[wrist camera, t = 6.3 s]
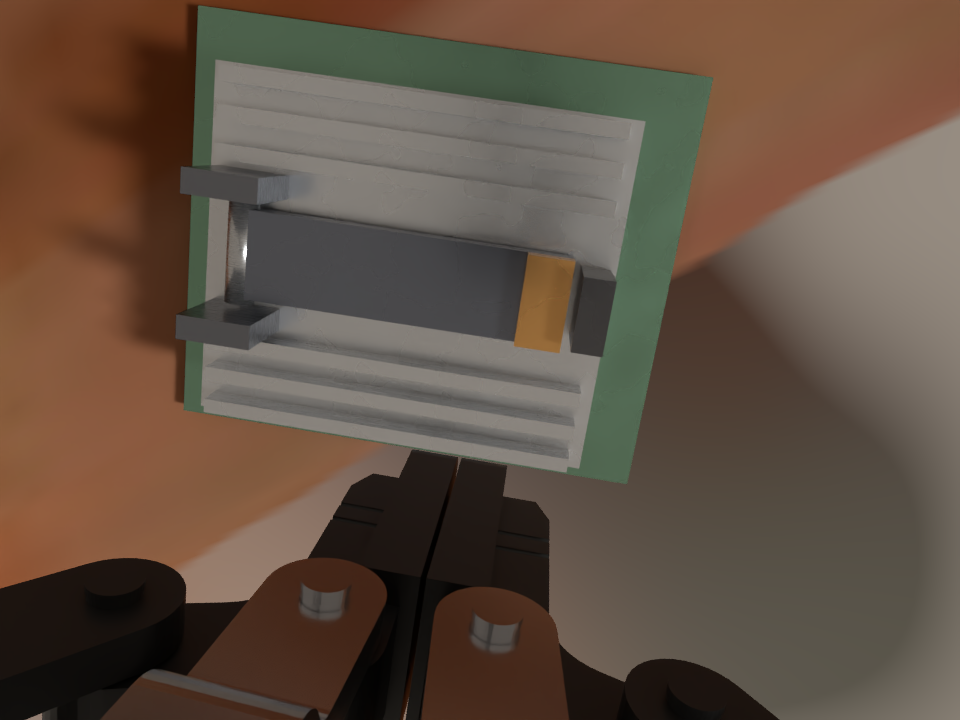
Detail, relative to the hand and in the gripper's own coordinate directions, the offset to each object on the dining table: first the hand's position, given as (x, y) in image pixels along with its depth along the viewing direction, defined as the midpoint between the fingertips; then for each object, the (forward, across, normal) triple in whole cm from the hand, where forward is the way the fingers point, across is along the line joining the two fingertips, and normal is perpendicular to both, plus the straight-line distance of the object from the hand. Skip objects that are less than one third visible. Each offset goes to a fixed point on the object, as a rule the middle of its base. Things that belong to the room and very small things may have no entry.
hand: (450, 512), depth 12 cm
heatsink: (+19, +4, -1) cm, 20 cm away
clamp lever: (+15, +4, -1) cm, 15 cm away
